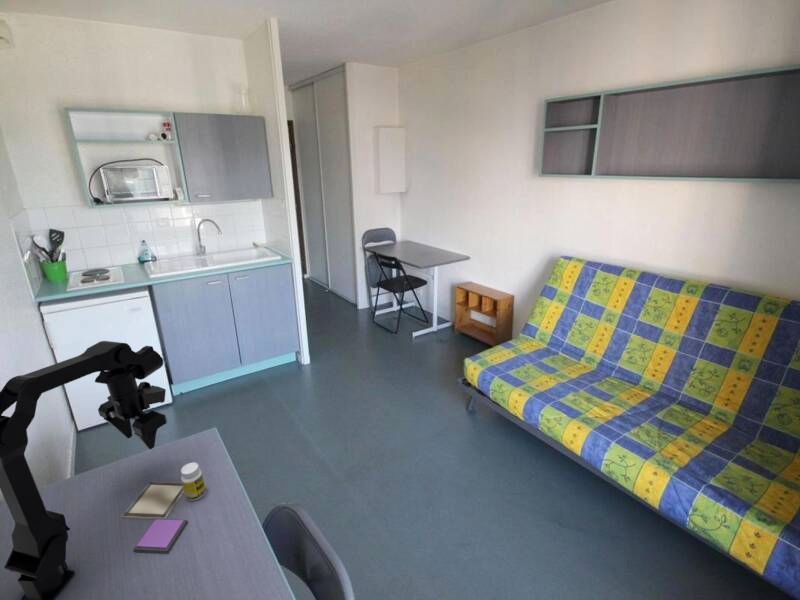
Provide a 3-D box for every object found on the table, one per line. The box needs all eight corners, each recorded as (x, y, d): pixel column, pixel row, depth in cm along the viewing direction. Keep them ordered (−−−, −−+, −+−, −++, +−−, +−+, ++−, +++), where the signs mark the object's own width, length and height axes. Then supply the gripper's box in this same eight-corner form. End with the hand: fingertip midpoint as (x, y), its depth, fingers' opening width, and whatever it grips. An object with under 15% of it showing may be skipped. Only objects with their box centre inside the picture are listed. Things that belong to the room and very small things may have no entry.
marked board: (165, 519, 102) (164, 517, 102) (122, 517, 103) (121, 516, 103) (189, 484, 112) (189, 482, 112) (150, 482, 113) (149, 481, 113)
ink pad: (168, 553, 93) (166, 549, 93) (133, 551, 94) (132, 547, 94) (187, 522, 101) (186, 518, 100) (156, 521, 102) (154, 517, 101)
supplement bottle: (201, 501, 107) (194, 475, 104) (182, 501, 107) (175, 475, 104) (209, 486, 111) (203, 461, 108) (191, 486, 111) (184, 461, 108)
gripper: (179, 382, 104) (192, 434, 110) (133, 365, 112) (148, 415, 118) (134, 407, 95) (151, 462, 101) (88, 387, 103) (107, 439, 109)
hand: (140, 442), depth 107 cm, fingers open, 9 cm apart
